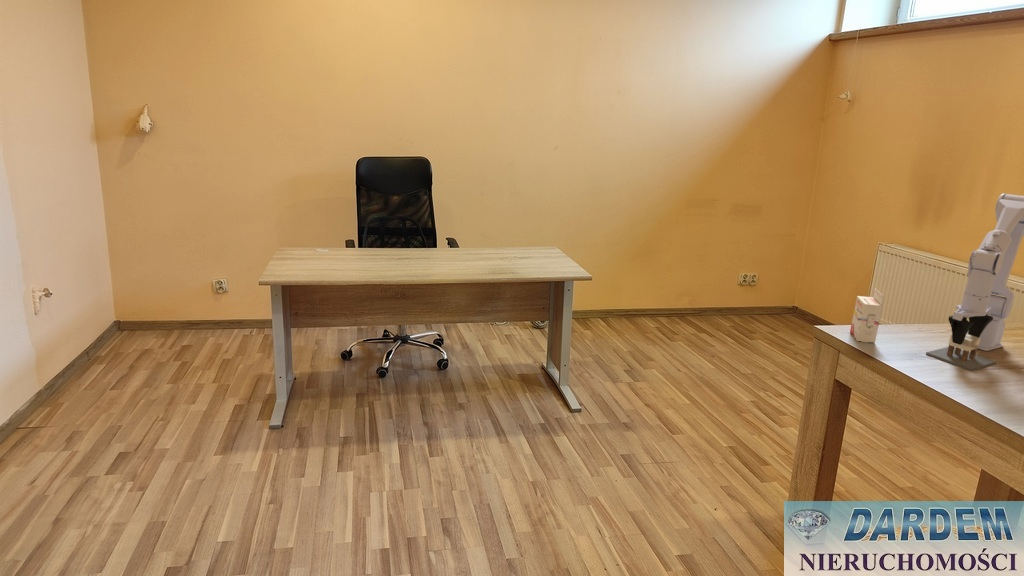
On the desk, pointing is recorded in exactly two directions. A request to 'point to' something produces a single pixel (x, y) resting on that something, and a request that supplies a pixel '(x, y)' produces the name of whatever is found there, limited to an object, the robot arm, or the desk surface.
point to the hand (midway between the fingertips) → (964, 341)
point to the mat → (956, 359)
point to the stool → (965, 347)
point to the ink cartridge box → (867, 317)
